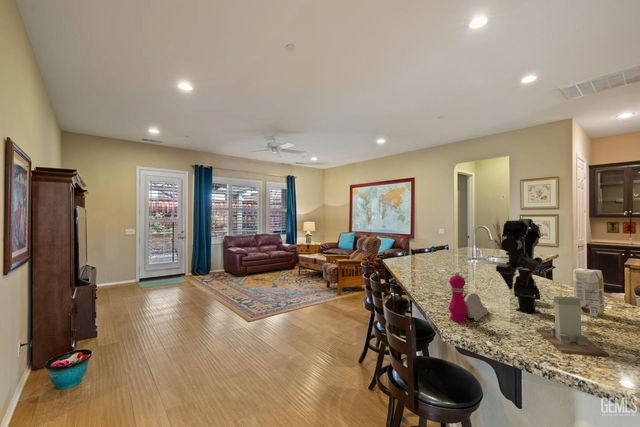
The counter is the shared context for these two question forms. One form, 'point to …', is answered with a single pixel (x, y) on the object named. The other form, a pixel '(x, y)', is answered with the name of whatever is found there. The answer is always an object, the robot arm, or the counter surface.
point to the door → (567, 317)
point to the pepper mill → (457, 299)
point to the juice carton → (589, 291)
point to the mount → (571, 343)
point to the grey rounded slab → (474, 306)
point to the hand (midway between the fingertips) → (517, 288)
